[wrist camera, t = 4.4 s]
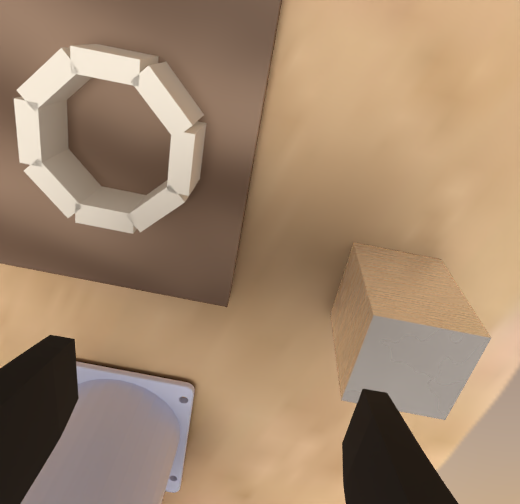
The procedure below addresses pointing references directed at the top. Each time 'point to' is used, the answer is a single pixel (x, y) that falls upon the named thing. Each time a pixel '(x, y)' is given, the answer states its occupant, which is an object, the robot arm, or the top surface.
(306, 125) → the top surface
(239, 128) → the bore board
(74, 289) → the top surface
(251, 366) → the top surface
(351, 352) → the grey rectangular block
